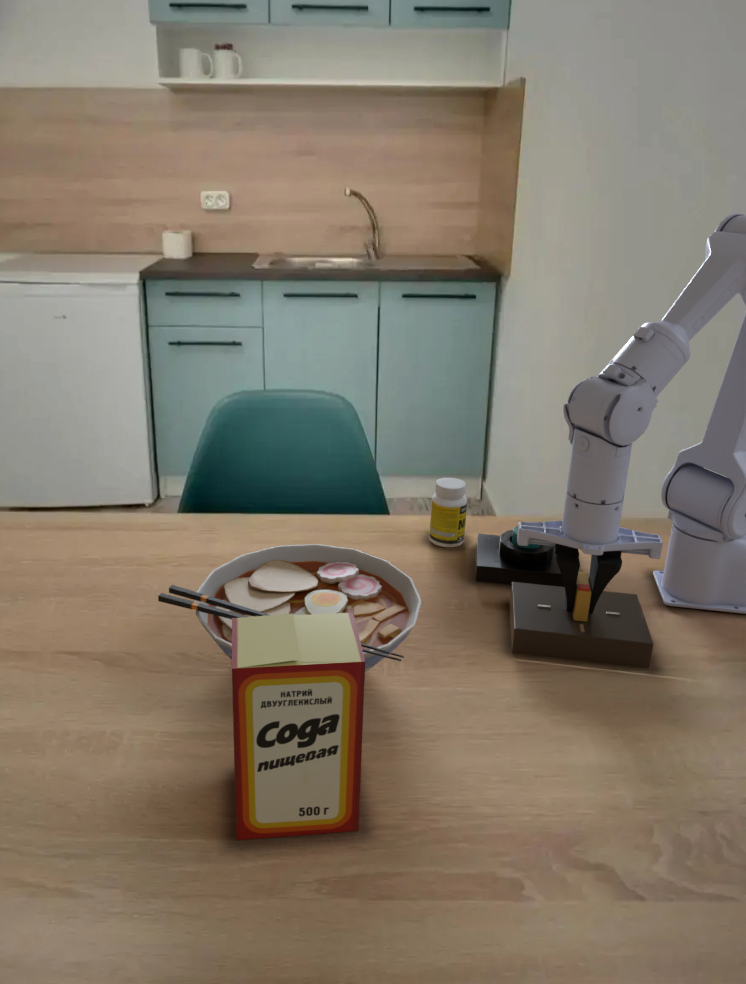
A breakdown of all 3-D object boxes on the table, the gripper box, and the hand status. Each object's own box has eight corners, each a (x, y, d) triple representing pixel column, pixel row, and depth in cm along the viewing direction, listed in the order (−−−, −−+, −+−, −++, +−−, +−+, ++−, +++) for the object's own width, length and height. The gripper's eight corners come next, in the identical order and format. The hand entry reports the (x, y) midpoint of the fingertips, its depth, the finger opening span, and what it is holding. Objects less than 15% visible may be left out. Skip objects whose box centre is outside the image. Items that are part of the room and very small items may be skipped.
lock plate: (633, 616, 95) (637, 592, 94) (649, 668, 86) (653, 642, 85) (509, 603, 97) (511, 580, 96) (511, 652, 88) (514, 627, 87)
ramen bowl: (456, 632, 91) (462, 566, 88) (376, 765, 72) (380, 686, 69) (259, 580, 101) (258, 519, 98) (141, 684, 81) (135, 612, 78)
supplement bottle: (462, 550, 109) (467, 491, 107) (427, 546, 110) (431, 488, 107) (465, 534, 114) (469, 477, 111) (430, 530, 115) (434, 474, 112)
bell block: (568, 557, 108) (572, 529, 107) (575, 591, 100) (579, 562, 99) (476, 548, 110) (478, 520, 109) (475, 581, 102) (477, 552, 100)
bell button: (540, 538, 105) (541, 526, 105) (541, 551, 102) (543, 538, 101) (511, 535, 106) (512, 523, 105) (512, 548, 102) (513, 536, 102)
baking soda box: (347, 771, 71) (353, 608, 65) (358, 830, 65) (365, 657, 59) (235, 778, 70) (231, 614, 64) (236, 840, 64) (231, 664, 58)
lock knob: (570, 598, 92) (574, 568, 91) (582, 600, 92) (587, 569, 91) (573, 620, 88) (578, 588, 87) (587, 622, 88) (591, 590, 87)
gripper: (524, 502, 83) (511, 619, 88) (676, 516, 81) (654, 636, 85) (522, 476, 89) (510, 586, 94) (662, 488, 87) (643, 600, 92)
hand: (578, 608), depth 90 cm, fingers closed on lock knob
